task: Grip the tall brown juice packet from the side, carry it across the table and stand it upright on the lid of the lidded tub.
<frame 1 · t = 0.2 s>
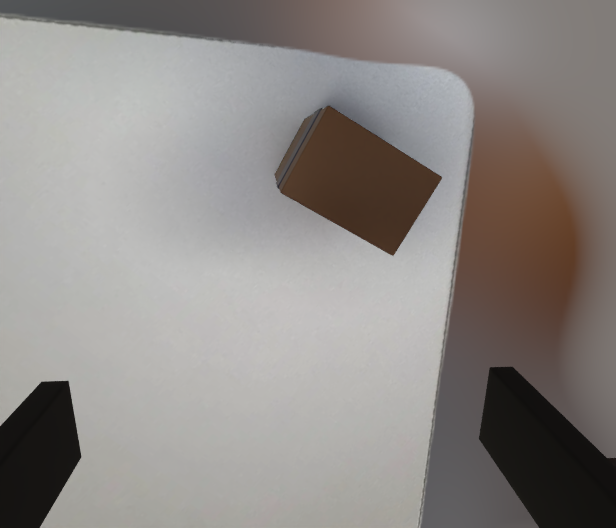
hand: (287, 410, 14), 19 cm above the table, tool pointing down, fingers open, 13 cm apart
packet: (328, 170, 31), on the table
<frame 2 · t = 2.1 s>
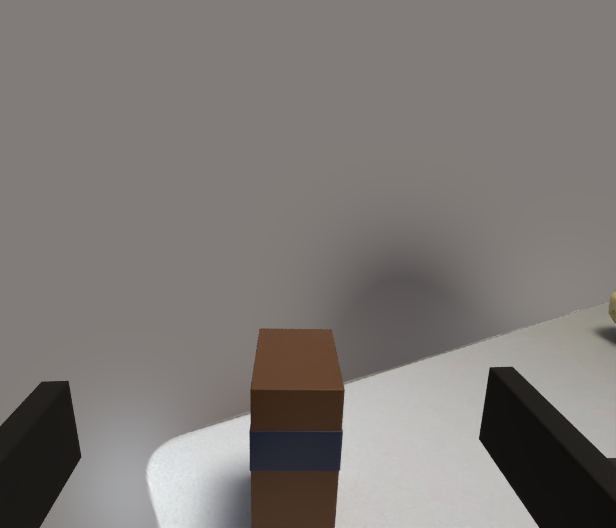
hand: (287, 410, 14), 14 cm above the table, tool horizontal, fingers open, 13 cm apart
packet: (291, 514, 26), on the table
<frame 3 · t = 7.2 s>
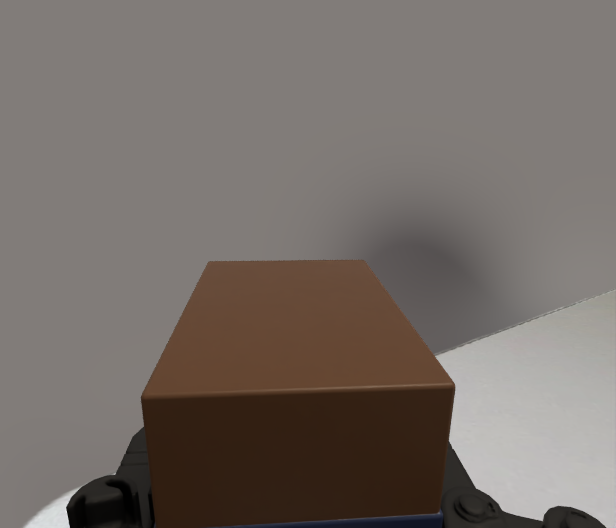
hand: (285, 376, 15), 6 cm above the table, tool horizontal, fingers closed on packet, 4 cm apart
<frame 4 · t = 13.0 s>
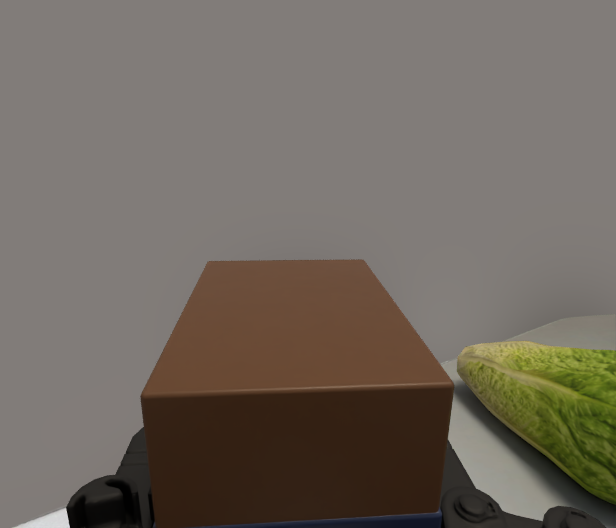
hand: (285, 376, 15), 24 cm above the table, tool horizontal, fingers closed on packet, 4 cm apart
lettuce: (548, 437, 49), on the table
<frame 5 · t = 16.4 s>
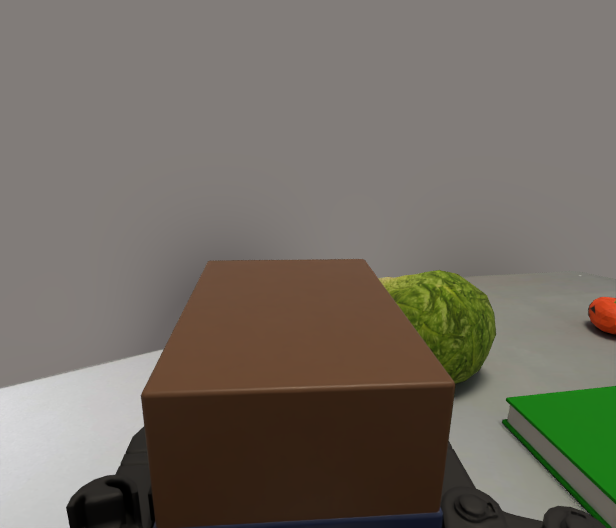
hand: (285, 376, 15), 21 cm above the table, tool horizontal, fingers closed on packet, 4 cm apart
pumpkin: (613, 333, 67), on the table
lettuce: (399, 352, 60), on the table
when the fingers open (12 cm above the table, at t = 18.9 s): packet stays where it is, resting on lidded tub.
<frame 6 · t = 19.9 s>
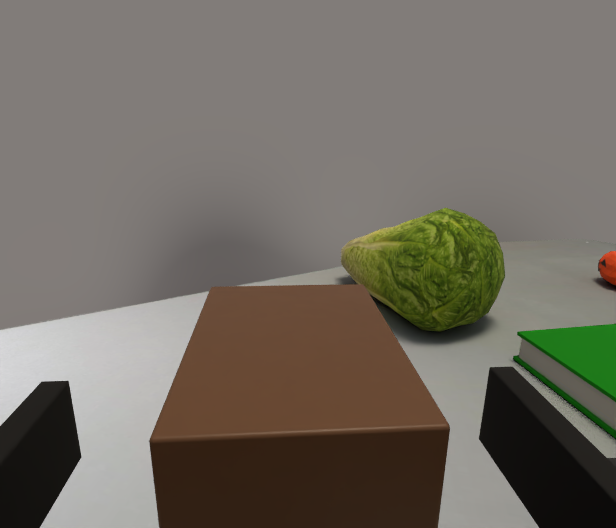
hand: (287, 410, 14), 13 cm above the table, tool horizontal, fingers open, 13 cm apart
lettuce: (403, 303, 58), on the table
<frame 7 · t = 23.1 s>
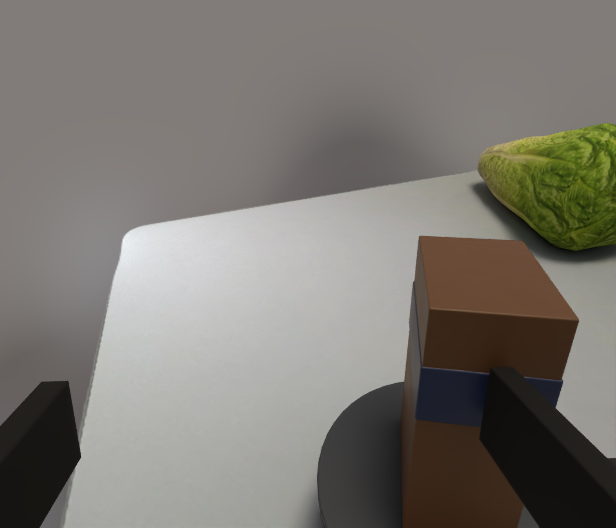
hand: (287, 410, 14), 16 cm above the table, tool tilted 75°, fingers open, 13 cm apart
lettuce: (539, 216, 58), on the table
packet: (447, 473, 21), point 7 cm above the table, tilted 7°, touching gripper, lidded tub
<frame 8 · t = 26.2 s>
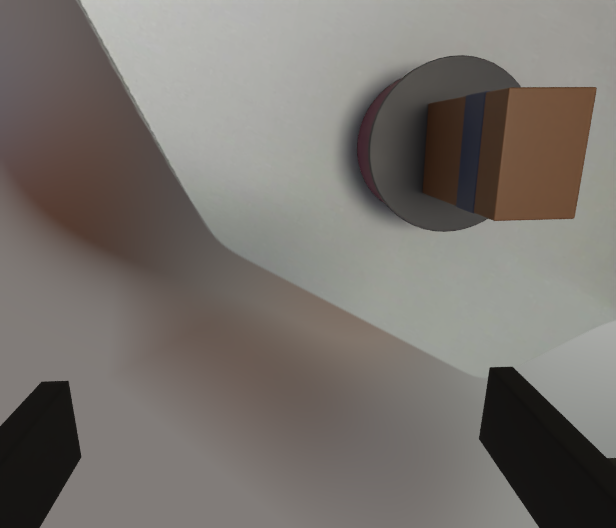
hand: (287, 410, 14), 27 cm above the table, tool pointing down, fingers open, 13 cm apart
lidded tub: (424, 146, 38), on the table, touching packet
packet: (454, 149, 32), point 6 cm above the table, touching lidded tub
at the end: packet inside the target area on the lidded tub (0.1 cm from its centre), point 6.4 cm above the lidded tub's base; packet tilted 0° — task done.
